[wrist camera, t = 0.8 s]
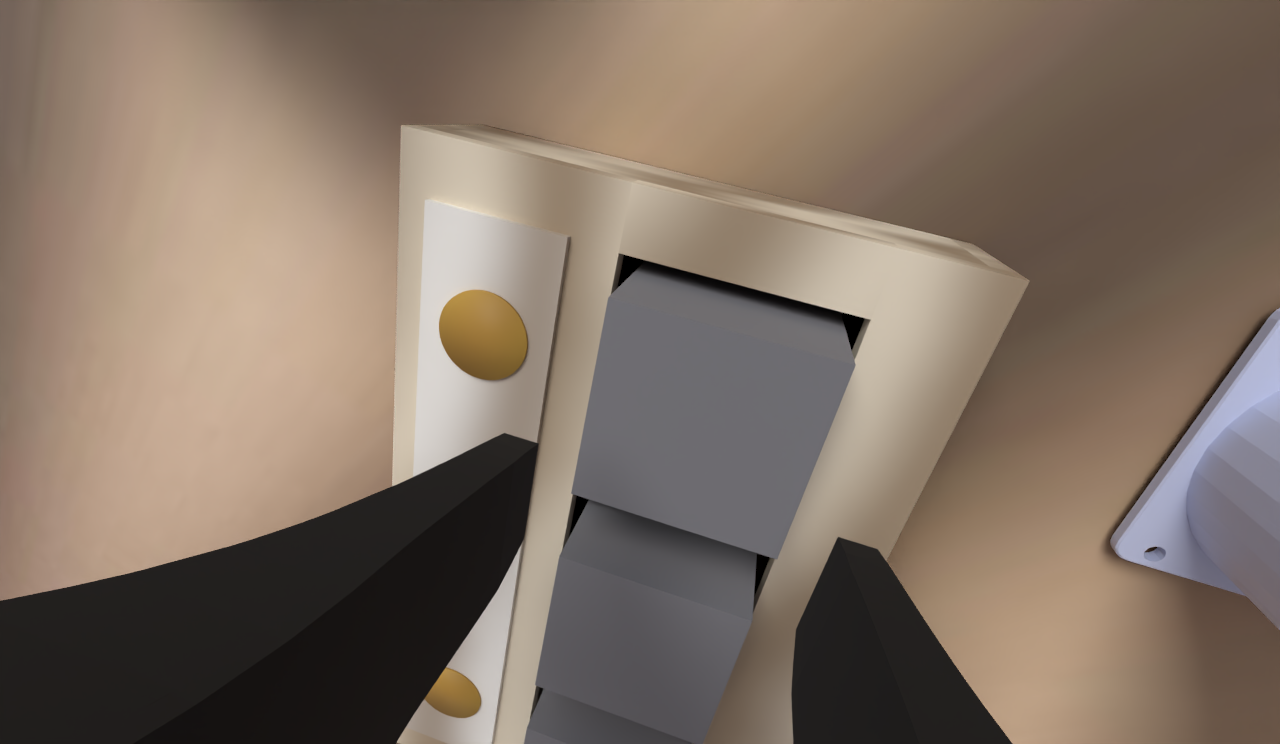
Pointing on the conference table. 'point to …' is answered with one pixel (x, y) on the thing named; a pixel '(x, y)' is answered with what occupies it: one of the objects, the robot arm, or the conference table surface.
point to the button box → (566, 357)
